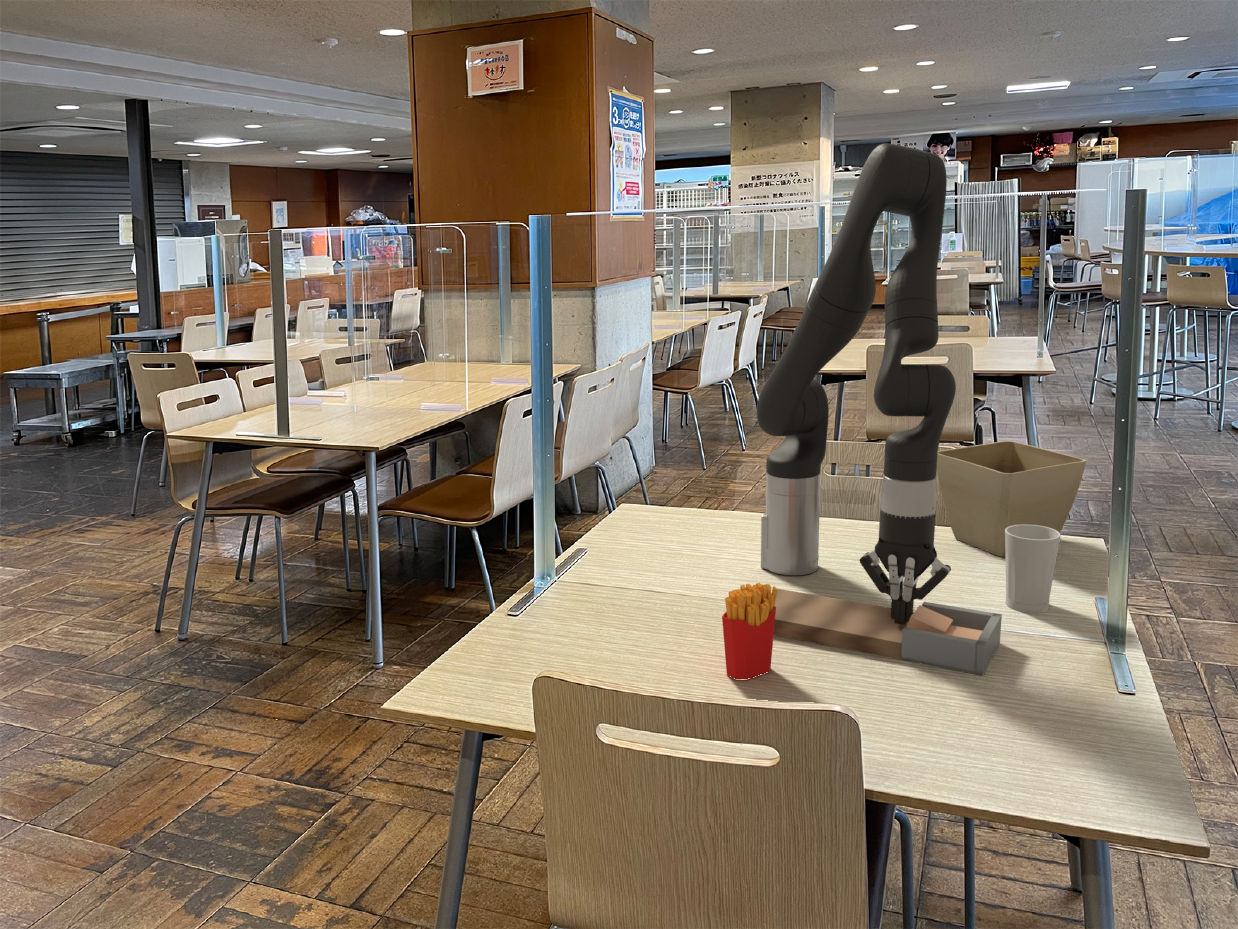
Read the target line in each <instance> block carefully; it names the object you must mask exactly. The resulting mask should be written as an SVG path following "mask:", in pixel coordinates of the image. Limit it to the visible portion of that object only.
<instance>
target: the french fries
mask: <svg viewBox="0 0 1238 929" xmlns="http://www.w3.org/2000/svg"><path fill="white" fill-rule="evenodd" d="M777 589H778V588H777V587H776V586H775V585H774V586H771V584H770V583H765V584H762V583H760V582H757V583H755V584H753V585H751V584H750V583H745V584H740V588H738V589H732V590H731V591H728V596H727V597H725V598H724V602H725V610H726V611H725V612H724V613H723V614H722V616H721V620H722V631H723V633H722V634H723V645H724V646H723V647H724V656H725V671H726V676H727V675H729V676H731V677H732V678H735V679H748V678H753V677H755V676H758V675H760V674H764V673H766V672H769V673H770V671H771V666H772V657H773V646H774V636H775V635H774V626H775V615H776V606H774V605H775V601H776V597H777V592H778V590H777ZM764 675H765V674H764ZM729 676H728V677H729ZM731 677H730V678H731ZM732 678H731V679H732ZM753 679H754V678H753Z"/></svg>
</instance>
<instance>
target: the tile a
mask: <svg viewBox="0 0 1238 929" xmlns="http://www.w3.org/2000/svg"><path fill="white" fill-rule="evenodd" d="M913 612H914V613H913V614H912V616H911V617H910V620H909V622H908V625H907V628H912V629H918V630H923V631H929V632H934V633H940V634H945V633H946V632H947V630H948V629H949V627H950V626H951V625H952V622H953V619H951V618H948V617H946V616H944V615H941V614H939V613H937V612H935V611H932V610H930V609H928V608H926V607H923V606H922V604H921V605H918V607H917V608H916V609H915V610H914V611H913Z"/></svg>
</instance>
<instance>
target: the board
mask: <svg viewBox="0 0 1238 929" xmlns="http://www.w3.org/2000/svg"><path fill="white" fill-rule="evenodd" d="M777 590H778V592H777V597H776V601H775V605H774V606H776V615H775V626H774V636H777V637H783V638H789V639H794V640H799V641H803V642H808V643H814V644H819V645H825V646H829V647H835V648H839V649H843V650H844V649H845V650H848V651H850V650H851V651H855V652H859V653H865V654H870V655H875V656H878V657H879V656H881V657H885V658H889V657H890V658H891V659H895V660H901V646H902V630H903V629H904V627H907V625H908V622H907V623H906V625H901V624H895V623H894V621H895V619H892V618H891V607H887V606H881V605H876V604H869V603H864V602H860V601H859V602H857V601H852V600H847V599H841V598H835V597H828V596H823V595H817V594H811V593H805V592H798V591H796V590H795V591H793V590H788V589H784V588H783V589H782V588H777ZM914 612H915V611H913V613H914ZM901 661H902V660H901Z"/></svg>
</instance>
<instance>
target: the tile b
mask: <svg viewBox="0 0 1238 929" xmlns="http://www.w3.org/2000/svg"><path fill="white" fill-rule="evenodd" d="M981 633H982V631H981V630H975V629H970V628H964V627H958V626H953V625H951V626H950V627H949V629H948V630H947V632H946V633H945V634H946V635H951V636H957V637H962V638H968V639H973V640H978V638H979V637H980V635H981Z"/></svg>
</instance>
